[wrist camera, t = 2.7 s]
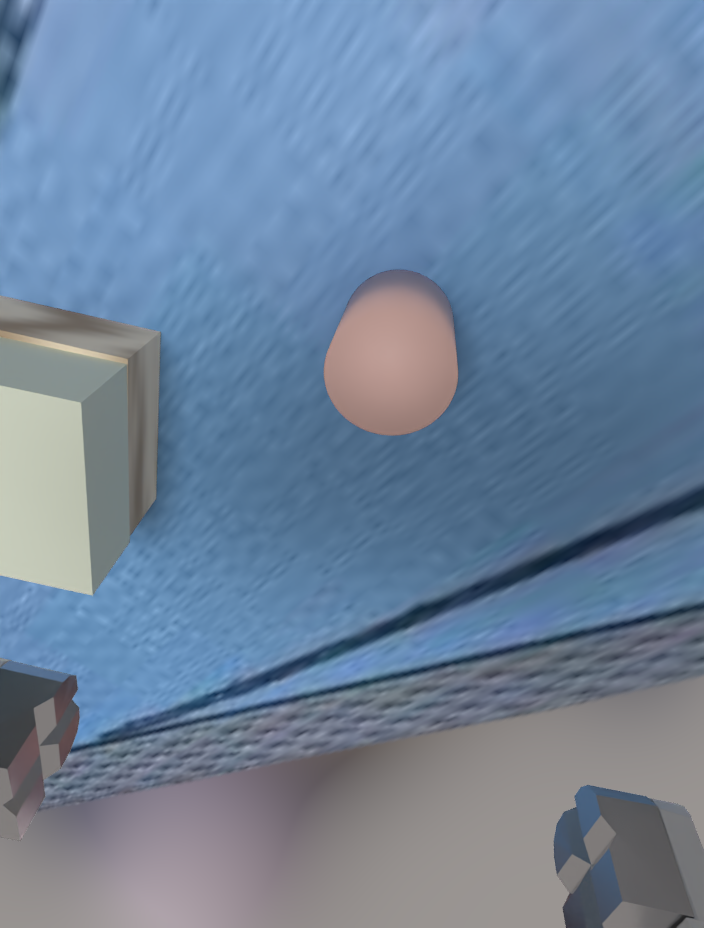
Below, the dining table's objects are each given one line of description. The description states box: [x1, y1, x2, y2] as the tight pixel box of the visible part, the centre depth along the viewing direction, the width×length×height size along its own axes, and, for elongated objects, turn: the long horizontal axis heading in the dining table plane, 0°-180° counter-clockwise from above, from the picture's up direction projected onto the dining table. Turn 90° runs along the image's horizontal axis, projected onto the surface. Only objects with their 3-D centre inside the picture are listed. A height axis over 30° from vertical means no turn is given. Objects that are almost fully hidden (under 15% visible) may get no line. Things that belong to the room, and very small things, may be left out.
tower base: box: [0, 296, 161, 535], centre depth 31 cm, size 10×10×4 cm
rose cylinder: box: [324, 270, 458, 435], centre depth 25 cm, size 5×5×6 cm
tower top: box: [0, 337, 130, 595], centre depth 27 cm, size 10×10×4 cm
